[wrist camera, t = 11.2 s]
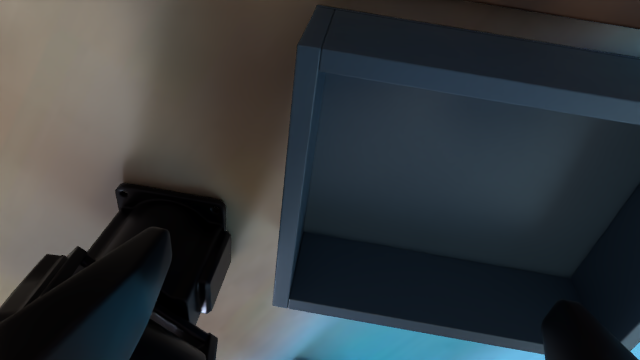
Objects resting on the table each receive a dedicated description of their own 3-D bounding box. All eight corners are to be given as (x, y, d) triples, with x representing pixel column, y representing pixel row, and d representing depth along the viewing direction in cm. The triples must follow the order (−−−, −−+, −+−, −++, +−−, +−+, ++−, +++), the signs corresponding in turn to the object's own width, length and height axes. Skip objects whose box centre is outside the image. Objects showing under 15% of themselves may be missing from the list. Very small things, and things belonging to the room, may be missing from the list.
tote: (290, 235, 26) (272, 306, 22) (317, 4, 18) (296, 44, 13) (575, 285, 25) (614, 367, 21) (734, 73, 17) (849, 136, 13)
